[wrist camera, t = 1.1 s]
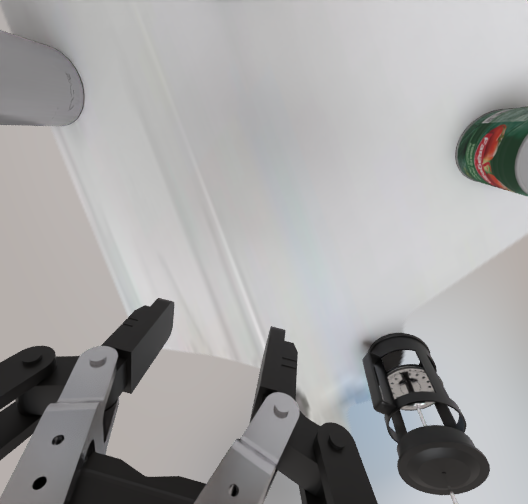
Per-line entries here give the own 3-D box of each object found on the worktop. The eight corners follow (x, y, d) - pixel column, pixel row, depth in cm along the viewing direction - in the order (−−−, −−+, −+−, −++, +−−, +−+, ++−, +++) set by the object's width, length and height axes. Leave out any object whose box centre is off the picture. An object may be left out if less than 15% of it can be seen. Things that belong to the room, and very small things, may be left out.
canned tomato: (548, 144, 32) (657, 150, 22) (481, 195, 35) (551, 221, 25) (505, 92, 31) (601, 73, 21) (440, 149, 34) (496, 157, 24)
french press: (446, 348, 44) (570, 546, 23) (411, 387, 48) (491, 586, 27) (376, 320, 44) (438, 493, 23) (347, 361, 48) (377, 541, 27)
